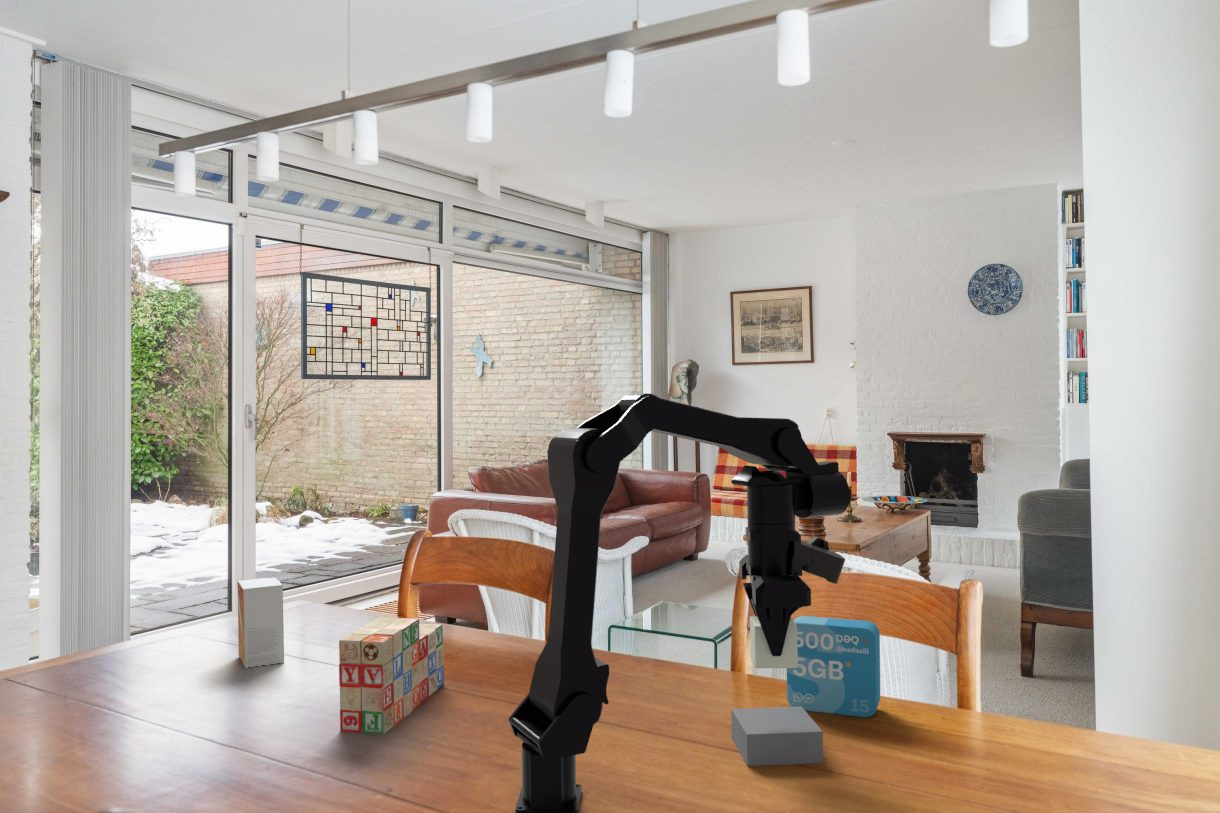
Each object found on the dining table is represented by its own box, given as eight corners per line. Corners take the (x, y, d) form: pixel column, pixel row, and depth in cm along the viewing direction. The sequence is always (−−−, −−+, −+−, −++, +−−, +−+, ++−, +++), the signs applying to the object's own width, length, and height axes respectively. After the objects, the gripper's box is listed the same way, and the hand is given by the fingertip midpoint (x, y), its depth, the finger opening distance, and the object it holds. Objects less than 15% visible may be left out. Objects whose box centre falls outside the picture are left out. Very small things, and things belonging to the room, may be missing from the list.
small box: (237, 657, 156) (236, 580, 156) (277, 651, 159) (276, 576, 159) (243, 669, 149) (242, 588, 149) (284, 663, 152) (283, 584, 152)
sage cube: (797, 667, 110) (797, 625, 110) (755, 668, 110) (754, 626, 110) (791, 656, 115) (790, 615, 115) (750, 656, 115) (749, 616, 115)
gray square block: (823, 765, 108) (822, 731, 108) (747, 768, 107) (746, 734, 107) (801, 737, 117) (801, 706, 117) (731, 740, 116) (731, 708, 116)
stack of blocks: (406, 683, 141) (405, 602, 141) (445, 685, 140) (444, 603, 140) (339, 732, 120) (337, 638, 120) (384, 735, 119) (383, 640, 119)
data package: (786, 709, 127) (785, 621, 127) (793, 699, 131) (792, 614, 131) (876, 719, 122) (876, 629, 122) (880, 708, 127) (879, 621, 126)
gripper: (856, 531, 102) (858, 672, 103) (823, 510, 121) (825, 629, 121) (755, 533, 103) (757, 672, 103) (737, 512, 121) (739, 630, 122)
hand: (773, 649), depth 112 cm, fingers closed on sage cube, 5 cm apart
